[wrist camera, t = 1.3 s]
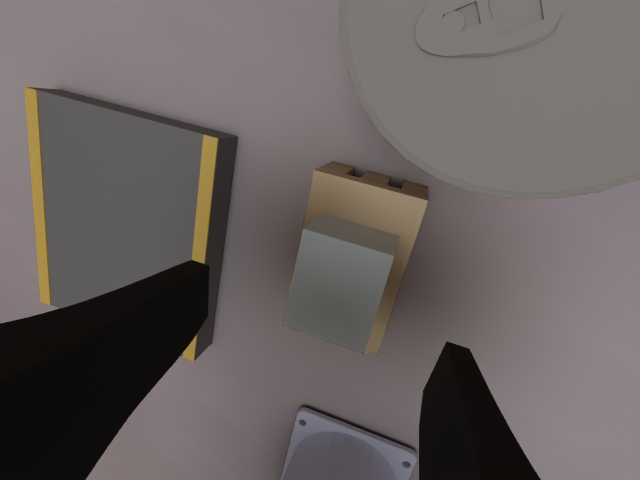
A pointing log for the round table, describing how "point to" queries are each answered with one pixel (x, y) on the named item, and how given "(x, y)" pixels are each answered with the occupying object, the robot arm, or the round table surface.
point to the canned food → (502, 90)
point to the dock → (123, 198)
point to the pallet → (371, 221)
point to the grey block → (339, 280)
